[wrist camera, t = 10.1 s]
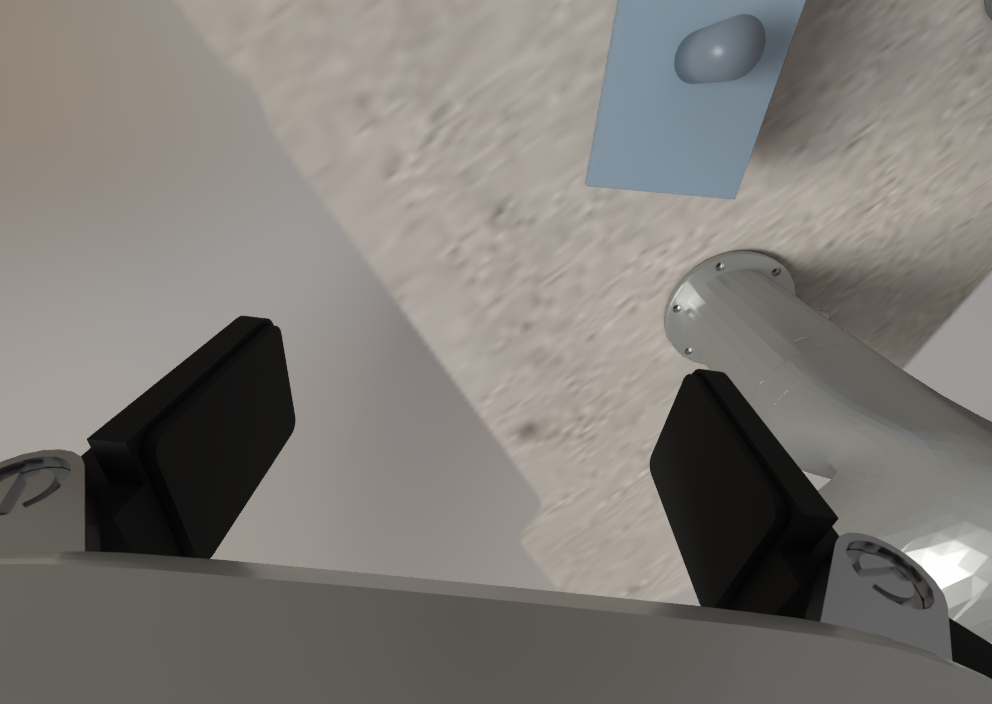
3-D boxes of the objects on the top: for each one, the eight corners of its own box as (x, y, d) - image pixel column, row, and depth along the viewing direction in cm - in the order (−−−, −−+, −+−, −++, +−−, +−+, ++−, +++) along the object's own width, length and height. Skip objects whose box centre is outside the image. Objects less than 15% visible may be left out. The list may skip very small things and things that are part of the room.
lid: (834, -110, 22) (935, -176, 16) (728, 196, 29) (774, 217, 24) (640, -130, 21) (680, -202, 16) (584, 183, 29) (600, 201, 24)
